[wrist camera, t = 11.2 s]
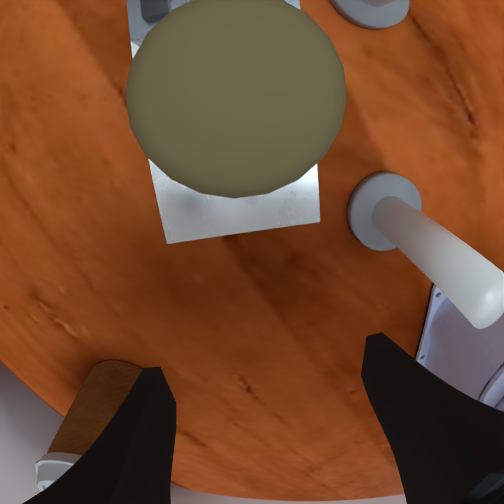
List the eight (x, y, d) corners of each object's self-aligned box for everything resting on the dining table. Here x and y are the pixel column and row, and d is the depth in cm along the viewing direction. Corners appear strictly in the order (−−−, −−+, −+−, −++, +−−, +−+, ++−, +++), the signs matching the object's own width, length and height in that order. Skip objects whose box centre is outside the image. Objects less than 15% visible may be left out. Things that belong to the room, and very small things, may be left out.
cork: (284, 157, 17) (369, 237, 7) (170, 156, 16) (97, 238, 6) (289, 49, 14) (388, -21, 4) (172, 46, 14) (97, -33, 4)
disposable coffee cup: (54, 367, 23) (10, 478, 13) (123, 327, 22) (79, 472, 11) (126, 425, 27) (109, 529, 17) (200, 398, 26) (199, 525, 15)
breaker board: (316, 217, 19) (337, 244, 16) (169, 238, 19) (157, 270, 16) (292, -11, 13) (310, -37, 10) (131, 11, 13) (108, -10, 10)
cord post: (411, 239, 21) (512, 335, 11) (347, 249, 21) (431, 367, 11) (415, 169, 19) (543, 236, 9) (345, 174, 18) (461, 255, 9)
